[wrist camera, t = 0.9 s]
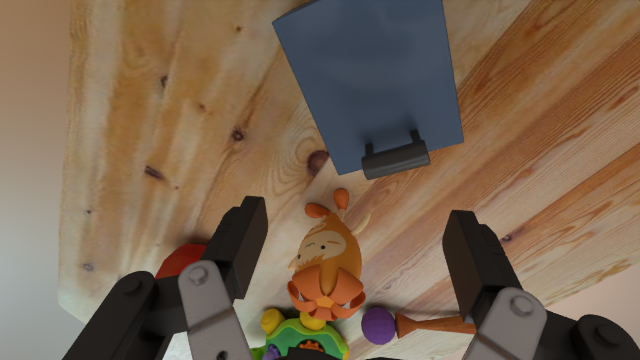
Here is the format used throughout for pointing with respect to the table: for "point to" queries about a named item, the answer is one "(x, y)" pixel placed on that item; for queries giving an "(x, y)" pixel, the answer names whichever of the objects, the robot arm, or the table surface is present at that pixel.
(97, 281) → the table surface
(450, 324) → the purple toy maraca
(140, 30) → the table surface
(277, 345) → the turtle toy
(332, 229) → the toy figure
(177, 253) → the apple
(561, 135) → the table surface
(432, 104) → the lid
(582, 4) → the table surface
